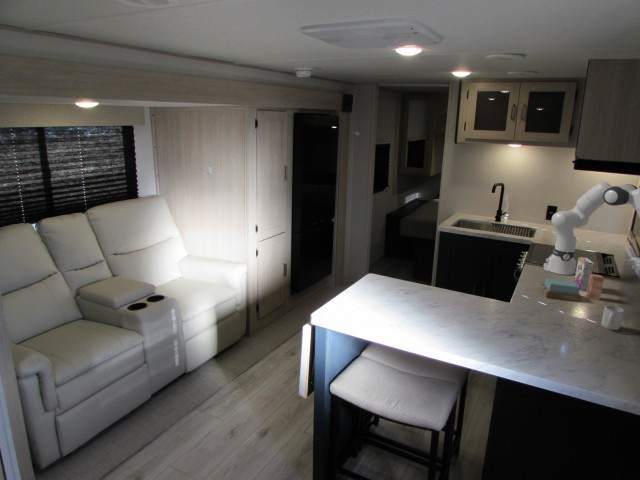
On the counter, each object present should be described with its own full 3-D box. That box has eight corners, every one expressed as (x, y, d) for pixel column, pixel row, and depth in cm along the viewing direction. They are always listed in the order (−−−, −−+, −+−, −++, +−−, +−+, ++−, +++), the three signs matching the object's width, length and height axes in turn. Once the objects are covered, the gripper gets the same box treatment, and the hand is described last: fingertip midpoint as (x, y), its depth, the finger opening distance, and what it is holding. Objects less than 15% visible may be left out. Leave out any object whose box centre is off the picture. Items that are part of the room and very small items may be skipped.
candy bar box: (572, 284, 264) (578, 256, 260) (582, 285, 263) (587, 257, 259) (579, 290, 253) (585, 262, 249) (589, 291, 252) (595, 263, 248)
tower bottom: (540, 290, 251) (541, 283, 250) (572, 294, 248) (573, 287, 247) (546, 299, 239) (547, 291, 238) (579, 303, 236) (581, 295, 235)
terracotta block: (586, 295, 246) (590, 274, 243) (596, 296, 245) (600, 275, 242) (589, 298, 241) (593, 277, 238) (599, 300, 240) (604, 278, 237)
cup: (620, 326, 206) (624, 308, 204) (617, 333, 199) (621, 314, 197) (602, 322, 211) (606, 303, 209) (598, 328, 203) (602, 309, 201)
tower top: (544, 284, 248) (545, 277, 247) (572, 288, 246) (573, 281, 245) (549, 291, 239) (550, 283, 238) (578, 294, 236) (579, 287, 235)
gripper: (650, 255, 241) (621, 253, 244) (669, 266, 222) (638, 263, 225) (647, 267, 243) (618, 264, 246) (667, 278, 223) (635, 275, 226)
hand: (628, 264), depth 235 cm, fingers open, 8 cm apart
